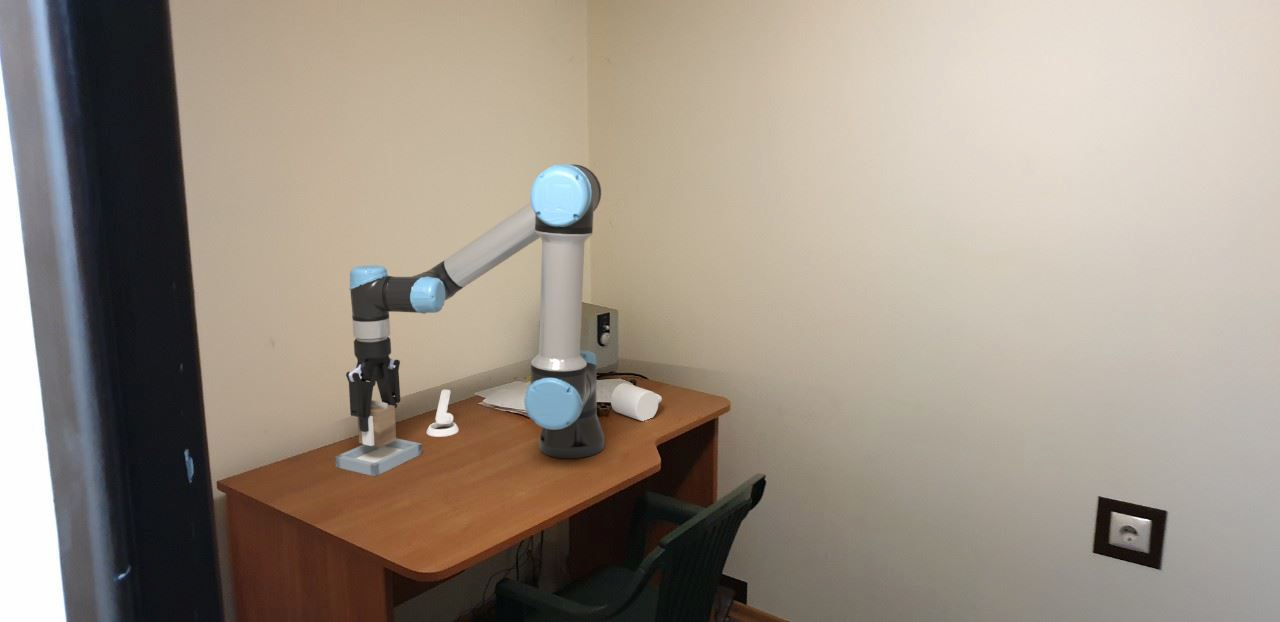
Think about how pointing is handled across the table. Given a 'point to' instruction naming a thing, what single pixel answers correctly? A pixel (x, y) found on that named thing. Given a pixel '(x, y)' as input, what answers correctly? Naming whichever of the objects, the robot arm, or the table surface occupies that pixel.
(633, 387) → the mug
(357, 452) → the tray
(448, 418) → the hook
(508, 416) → the table surface
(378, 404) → the brown cardboard carton
